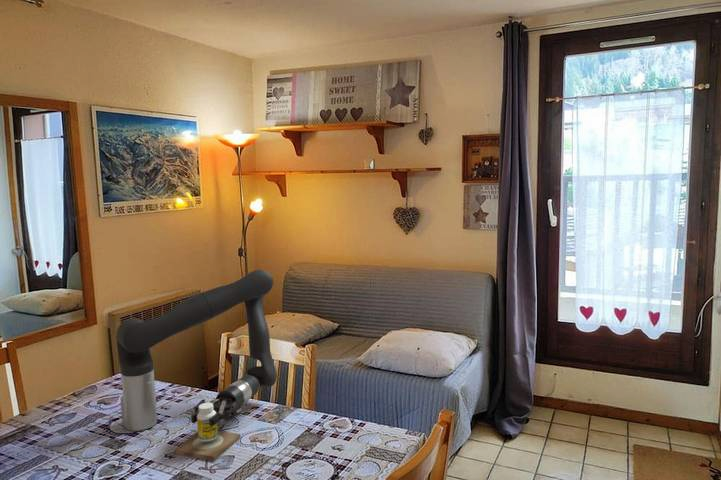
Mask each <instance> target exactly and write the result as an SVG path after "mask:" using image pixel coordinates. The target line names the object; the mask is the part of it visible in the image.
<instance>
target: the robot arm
mask: <svg viewBox="0 0 721 480" xmlns="http://www.w3.org/2000/svg"><path fill="white" fill-rule="evenodd" d="M273 287H274V278H273V276H272V275H271V273H270V272H268V271H266V270H264V269H256V270H252V271H251V272H248V273H246V274H245V275H244V276H243V277H242V278H240V279H238V280H236V281H233V282H231V283H229V284H225V285H221V286H218V287H213V288H211V289H209V290H208V289H207V290H204V291H201V292H200V293H196V294H195V295H193V296H190V297H188V298H186V299H184V300H182V301H181V302H179V303H178V304H177V305H176V306H174V307H173V308H172V309H170V310H169V311H168V312H166V313H164V314H162V315H160V316H158V317H157V316H156V317H153V318H151V319H148V320H146V321H143V320H142V319H140V318H135V317H132V318H131V317H130V318H127V319H125V320H123V322H121V323H120V325H119V326H118V328H117V330H116V337H115V339H116V346H117V347H116V348H117V357H118V359H117V360H118V363H119V367H120V375H121V377H120V378H121V389H122V395H121V396H120V407H121V408H120V409H121V421H122V427H124V428H125V429H126V430H128V431H132V432H136V431H137V432H138V431H145V430H148V429H150V428H152V427H154V426H155V425H157V422H158V415H157V414H158V413H157V398H156V397H157V396H156V384H155V383H156V381H155V369H154V361H153V358H152V354H151V350H150V349H151V348H152V347H154V346H156V345H158V344H159V343H162V342H163V341H166V340H167V339H169V338H170V337H173V336H174V335H176V334H179V333H182V332H184V331H187V330H189V329H191V328H193V327H196V326H198V325H201V324H203V323H206V322H207V321H210V320H212V319H214V318H217V317H218V316H220V315H222V314H224V313H226V312H227V311H229V310H231V309H232V308H234V307H236V306H237V305H240V304H242V303H244V305H245V311H246V313H245V314H246V321H247V327H248V328H247V329H248V348H249V349H248V350H249V357H250V358H251V359H253V360H258V361H259V363H260V364H261V365H259V366H256V365H255V366H252V367H249V368H247V369H246V370H245V372H244V373H243V375H242V376H241V378H239V379H238V380H237V381H234V382H233V383H231V384H229V385H228V386H227V387H225V388H223V389H222V390H221V391H219V392H218V394H216V397H215V399H212V400H209V401H206V399H201V400H200V401H199V402H198V403H197V404H196V405H195V406H194V409H193V410H194V411H193V412H194V413H193V414H192V415H191V416H190V420H191V424H197V414H198V413H199V405H201V404H203V403H212V404H213V408H214V409H213V410H214V411H215V412H216V414H215V415H214V416H212V417H211V418H210V419H209V425H210V426H213V425H215V424H217V425H218V423H220V422H223V421H224V420H225V421H226V422H230V421H231V420H233V419H234V418H236V417H238V416H240V415H242V407H243V406H244V405H246V404H247V403H248V401H249V400H251V399H252V398H253V397H254V396H256V394H257V393H258V392H259V391H260V388H270V387H273V386H274V385H275V384H276V383H277V379H278V372H277V368H276V366H275V361H274V358H273V355H272V353H271V343H270V342H271V339H270V332H269V327H268V323H267V320H266V316H265V312H264V298H265V297H264V296H266V295H268V294H269V293H270V291H272V289H273Z"/></svg>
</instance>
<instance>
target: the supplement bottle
mask: <svg viewBox="0 0 721 480" xmlns="http://www.w3.org/2000/svg"><path fill="white" fill-rule="evenodd" d="M213 409H214V408H213V404H212V403H203V404H201V405H199V413H198V414H197V422H196V424H197V425H196V426H197V432H198V437H199V440H201V441H204V442H207V441H212V440H214V439H215V438H216V437H217V436H218V431H219V429H218V423H217V424H215V425H213V426H210V425H209V419H210V418H211V417H212V416H214V415H215V414H216V412H215V411H214V410H213Z"/></svg>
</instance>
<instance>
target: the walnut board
mask: <svg viewBox="0 0 721 480" xmlns="http://www.w3.org/2000/svg"><path fill="white" fill-rule="evenodd" d="M240 439H241V434H240V433H234V432H229V431H222V430H218V436H217V437H216V438H215V439H214V440H212V441H207V442H204V441H201V440H199V437H198V431H197V432H195V433H194V434H192V436H190V437H189V438H187V439H186V440H184V441H183V442H182V443H181V444H180V445H178V446H177V447H176V448H175V449H174V450H173V451H174V454H175V455H180V456H181V455H182V456H186V457H192V458H197V459H201V460H202V459H203V460H208V461H213V462H215V461H216V460H218V459H219V458H220V456H222V455H224V454H225V452H226V451H227V450H229V449H230V448H231V447H232V446H234V444H235V443H237V442H238V441H239V440H240Z"/></svg>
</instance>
